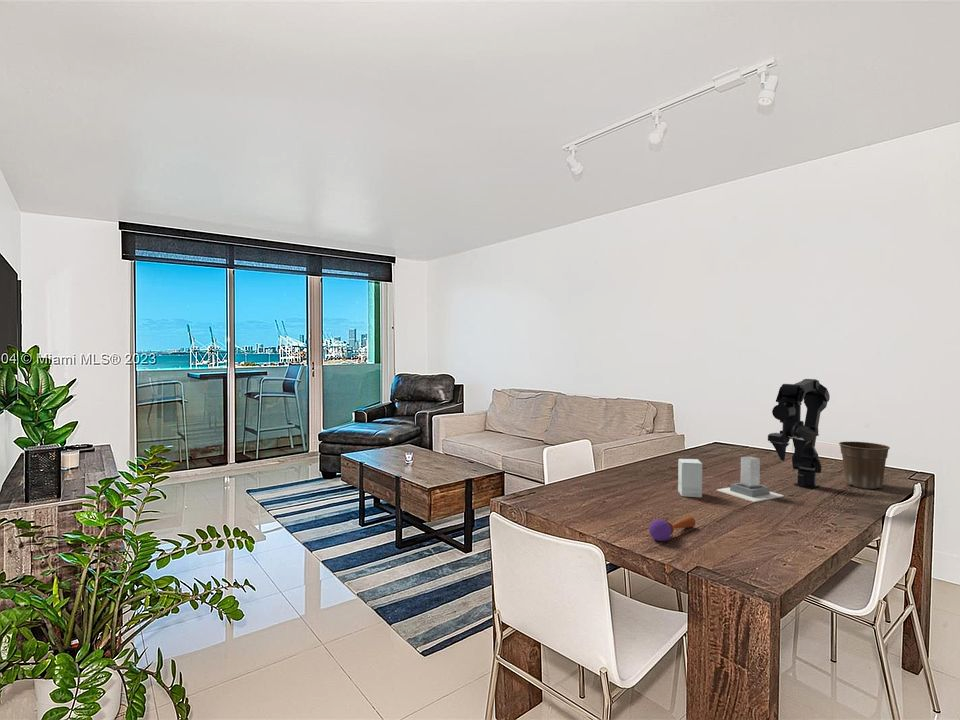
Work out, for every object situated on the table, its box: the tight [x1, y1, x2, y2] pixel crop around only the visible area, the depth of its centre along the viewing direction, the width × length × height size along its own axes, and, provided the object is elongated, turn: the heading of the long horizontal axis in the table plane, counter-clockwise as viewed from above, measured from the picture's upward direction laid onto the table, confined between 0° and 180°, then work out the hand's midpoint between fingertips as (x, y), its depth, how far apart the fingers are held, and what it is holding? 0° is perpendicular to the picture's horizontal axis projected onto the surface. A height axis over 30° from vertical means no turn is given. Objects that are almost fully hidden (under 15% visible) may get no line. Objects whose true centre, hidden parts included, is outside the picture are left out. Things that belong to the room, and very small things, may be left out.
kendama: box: [648, 515, 696, 542], centre depth 155 cm, size 6×6×20 cm
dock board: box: [716, 482, 785, 503], centre depth 196 cm, size 16×16×4 cm
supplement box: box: [677, 458, 703, 498], centre depth 195 cm, size 7×7×13 cm
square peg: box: [739, 456, 761, 489], centre depth 196 cm, size 4×4×13 cm
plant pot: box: [838, 441, 891, 490], centre depth 207 cm, size 16×16×16 cm
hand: (790, 459), depth 195 cm, fingers open, 9 cm apart
